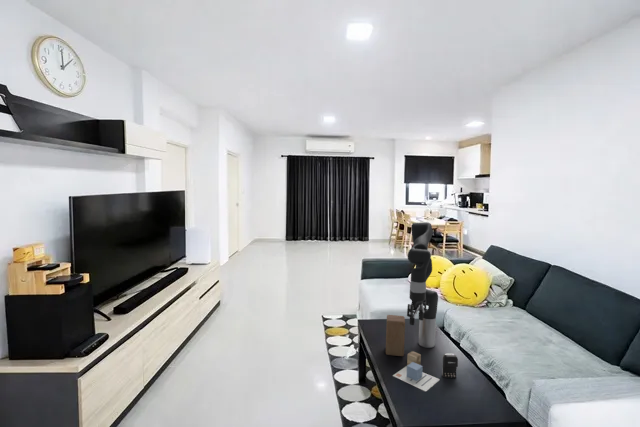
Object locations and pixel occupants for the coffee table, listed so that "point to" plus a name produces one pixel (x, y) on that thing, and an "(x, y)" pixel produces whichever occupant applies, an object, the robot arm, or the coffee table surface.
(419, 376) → the blue cube
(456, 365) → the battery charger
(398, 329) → the wooden block
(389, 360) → the coffee table surface
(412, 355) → the oak block
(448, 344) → the coffee table surface
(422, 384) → the letter
